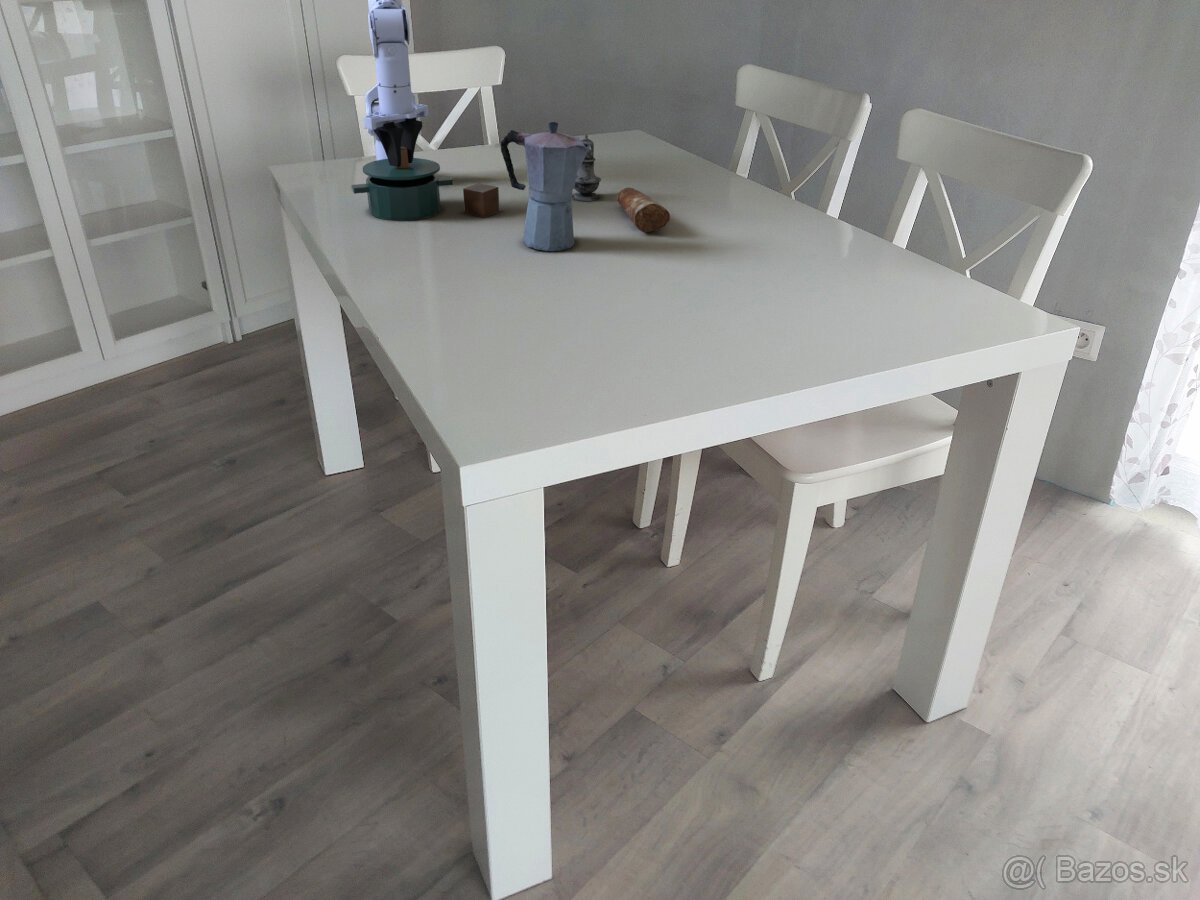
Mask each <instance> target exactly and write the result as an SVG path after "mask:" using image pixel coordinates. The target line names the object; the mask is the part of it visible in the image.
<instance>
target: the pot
mask: <svg viewBox="0 0 1200 900" xmlns="http://www.w3.org/2000/svg"><path fill="white" fill-rule="evenodd" d="M367 176H368V175H367ZM453 185H454V179H453V178H452V177H451V176H440V177H439V176H438V175H437V173H436V174H433V175H430V176H427V177H423V178H419V179H414V180H385V179H380V178H374V177H371V176H368V177H366V179H365V183H357V184H351V191H352V192H353V193H354V195H355V194H366V193H367V194H366V195H367V203H368V204H367V205H368V210H369V213H370V215H372V216H373V217H375V218H377V219H381V220H387V221H399V222H400V221H401V222H402V221H416V220H423V219H426V218H430V217H433V216H435V215H437V214H439V213H440V211H441V197H440V195H441V193H440V187H445V186H453Z"/></svg>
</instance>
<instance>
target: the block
mask: <svg viewBox="0 0 1200 900" xmlns="http://www.w3.org/2000/svg"><path fill="white" fill-rule="evenodd" d="M462 191H463V193H462V194H463V209H464V214H466V215H471V216H476V217H479V218H487V217H490V216H492V215H494V214H497V213H500V196H499V195H500V193H499V186H495V185H490V184H485V183H481V182H477V183H475V184H472V185H469V186H466V187H463V188H462Z"/></svg>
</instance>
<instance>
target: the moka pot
mask: <svg viewBox="0 0 1200 900" xmlns="http://www.w3.org/2000/svg"><path fill="white" fill-rule="evenodd" d="M558 128H559V122H555V121H550V122H549V123H548V130H549V131H543V132H536V133H533V134H530V133H528V132H519V131H516V130H513V129H511V130H510V131H509V132H507V135H505V136H504V137H503V139H501V141H500V152H501V155H502V158H503V161H504V163H505V168H506V171H507V173H508V178H509V181H510V185H511V188H513V189H517V190H519V191H525V189H526V187H527V186H526V185H525V184H524V183H519V181H518V180H517V179H518V178H517V176H516V175H515V170H514V169H515V168H514V164H513V161H512V158H511V153H510V150H509V147H508V146H509V144H510V143H512V142H513V143H515V144H516V145H518V146H523V147H524V151H525V162H526V173H527V174H526V175H527V182H528V196H529V197H528V201H527V202H528V203H527V208H526V214H525V221H524V227H523V235H522V243H523V244H524V245H525V246H527V247H529V248H531V249H533V250H538V251H545V252H557V251H558V252H560V251H561V252H562V251H566V250H568V249H570V248H572V247H573V246H574V245H575V233H574V221H573V220H574V219H573V206H572V199H573V198H572V196H573V190H575V189H574V187H575V182H576V176H577V172H578V170H579V169H580V167H581V164H582V162H583V160H584V158H585V156H586V154H587V153H588V151H590V150H592V149H591V147H590V146H589V145H588V144H587V143H585V142H583V141H581V140H580V137H578V136H575V135H571V134H566V133H563V132H558Z"/></svg>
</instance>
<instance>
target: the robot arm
mask: <svg viewBox="0 0 1200 900" xmlns="http://www.w3.org/2000/svg"><path fill="white" fill-rule="evenodd" d="M402 1H403V0H367V6H368V14H367V22H368V23H367V24H368V31H369V39H370V42H371V48H372V54H373V58H374V66H375V76H376V84H375V85H373V87H371V88H370V89H369V90H368V91H367V92H366V93H365V96H364V102H365V105H364V108H365V116H362V122H363V129H365V130H367V133H368V134H369V136H371V137H373V136H374V140H375V143H374V151H375V152H374V153H375V161H377V160H382V159H388V161H389V164H390V165H391V166H396V167H399V166H401V147H406V148H407V152H408V163H412V162H413V158H415V157H414V155H415V149H416V144H417V141H418V138H419V135H420V132H421V130H422V129H423V121H421V120H419V118H422V117H423V118H428V117H429V115H430V114H429V105H427V104H421V103H419V104H416V97H415V96H416V95H414V93H413V91H412V84H411V83H412V82H411V71H410V59H409V47H408V46H409V45H410V39H411V34H410V33H411V31H410V20H409V15H408V12H407V9H406V7H405V6H404V5H403V2H402ZM406 43H407V44H406Z"/></svg>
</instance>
